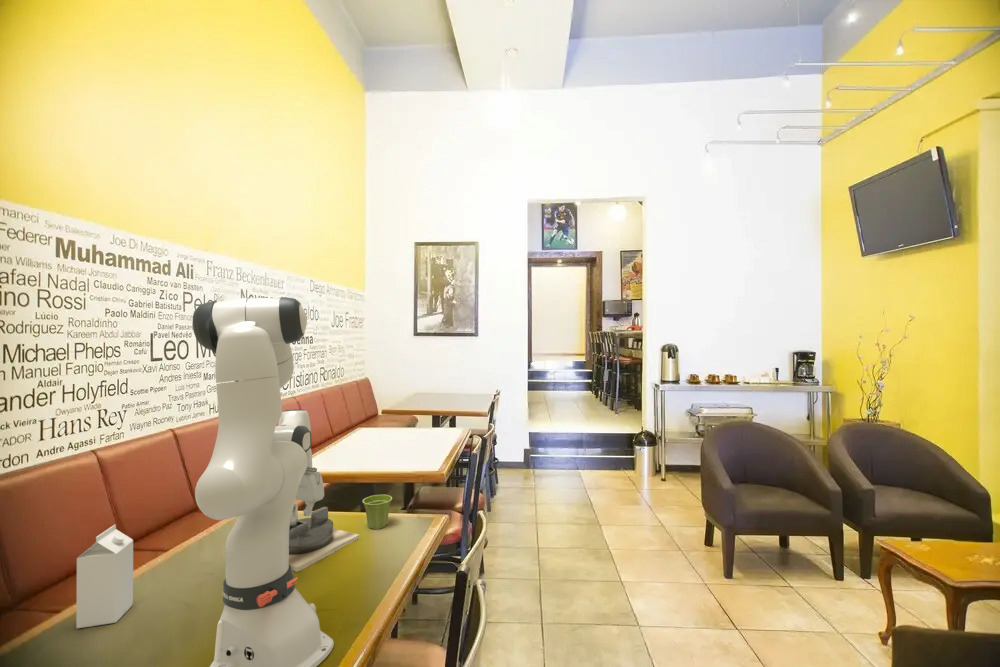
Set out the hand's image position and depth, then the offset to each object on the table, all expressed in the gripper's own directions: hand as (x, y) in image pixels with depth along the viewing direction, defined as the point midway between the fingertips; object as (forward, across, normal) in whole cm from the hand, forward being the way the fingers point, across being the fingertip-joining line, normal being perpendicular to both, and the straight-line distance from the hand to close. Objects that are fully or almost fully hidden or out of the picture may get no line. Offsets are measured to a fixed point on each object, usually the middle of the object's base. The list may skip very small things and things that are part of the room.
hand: (297, 513), depth 128 cm
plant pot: (+12, -6, -25) cm, 28 cm away
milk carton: (+11, +11, +40) cm, 43 cm away
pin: (+6, +1, +2) cm, 6 cm away
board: (+11, +2, -3) cm, 12 cm away
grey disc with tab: (+10, +2, -3) cm, 10 cm away
